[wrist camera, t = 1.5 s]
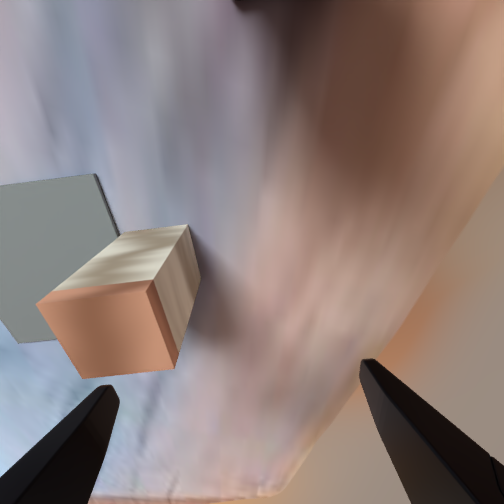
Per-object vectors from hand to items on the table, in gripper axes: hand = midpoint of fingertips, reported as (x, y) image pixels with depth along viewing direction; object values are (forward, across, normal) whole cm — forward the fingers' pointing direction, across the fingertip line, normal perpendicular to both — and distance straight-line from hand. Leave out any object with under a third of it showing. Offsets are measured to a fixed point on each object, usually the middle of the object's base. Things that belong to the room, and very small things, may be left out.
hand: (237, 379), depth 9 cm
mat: (+12, +16, 0) cm, 20 cm away
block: (+12, +6, 0) cm, 14 cm away
